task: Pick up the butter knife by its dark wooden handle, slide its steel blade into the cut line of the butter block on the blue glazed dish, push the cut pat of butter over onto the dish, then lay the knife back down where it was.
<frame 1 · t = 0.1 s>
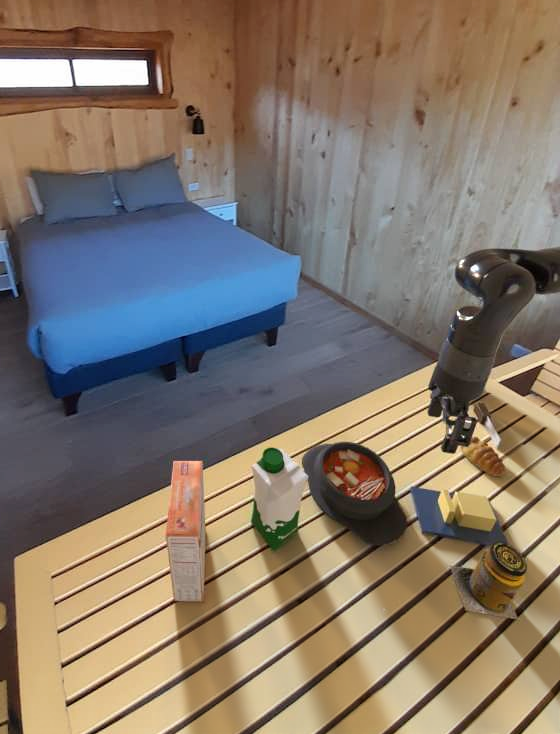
hand: (440, 432, 75), 25 cm above the table, tool pointing down, fingers open, 8 cm apart
condiment: (481, 592, 74), on the table
butter dish: (460, 518, 86), on the table
butter pat: (446, 506, 85), point 3 cm above the table, hinge at 0.0°, touching butter dish
pastry: (479, 458, 99), on the table
cracker box: (190, 562, 79), on the table
flask: (456, 383, 122), on the table
milk carton: (274, 528, 85), on the table
knife: (485, 427, 107), on the table
casserole: (349, 494, 91), on the table
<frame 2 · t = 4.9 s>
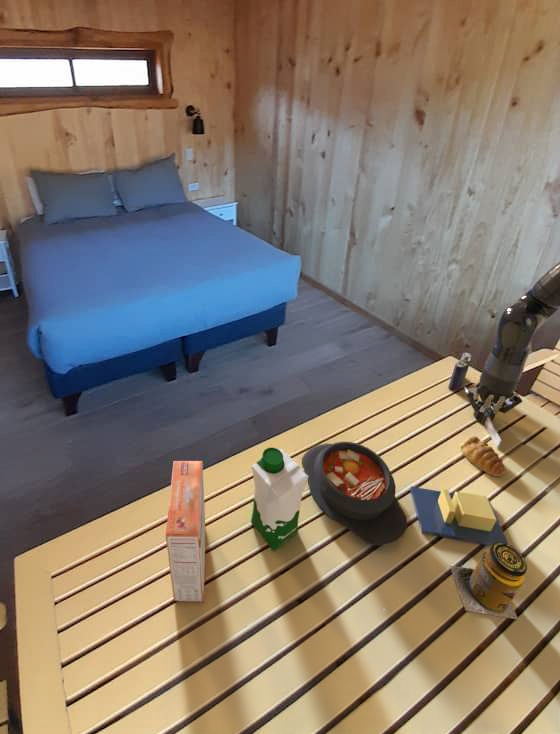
hand: (482, 419, 109), 0 cm above the table, tool pointing down, fingers closed on knife, 1 cm apart
knife: (486, 427, 107), on the table, touching gripper
everything else where it was.
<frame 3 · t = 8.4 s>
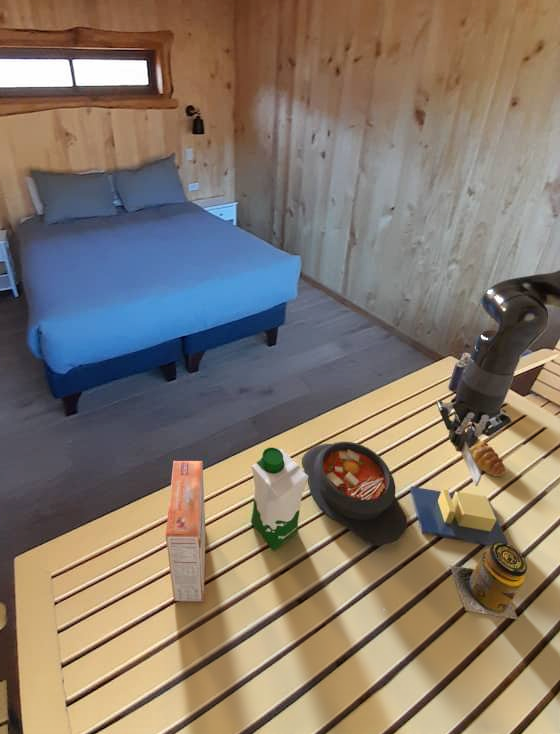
hand: (460, 443, 85), 15 cm above the table, tool pointing down, fingers closed on knife
knife: (463, 456, 83), point 14 cm above the table, touching gripper
everything else where it was.
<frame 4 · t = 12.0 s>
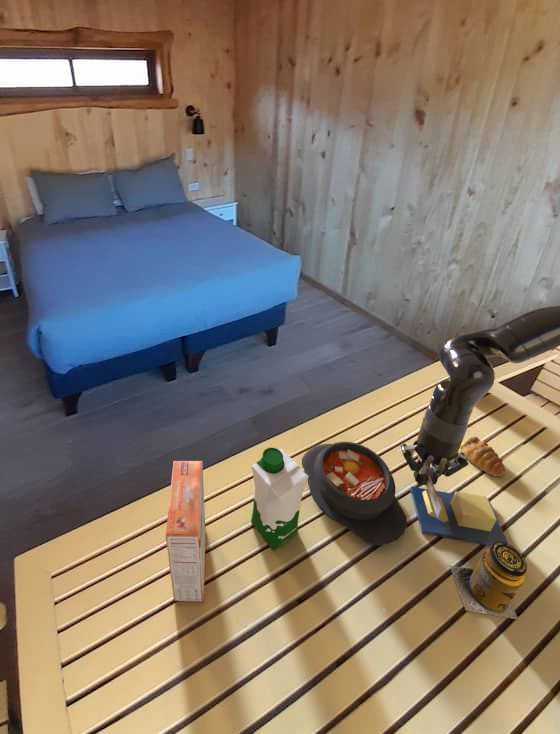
hand: (423, 481, 90), 3 cm above the table, tool pointing down, fingers closed on knife
butter pat: (435, 506, 86), point 2 cm above the table, hinge at 63.0°, touching butter dish
knife: (428, 489, 88), point 4 cm above the table, touching gripper
everything else where it was.
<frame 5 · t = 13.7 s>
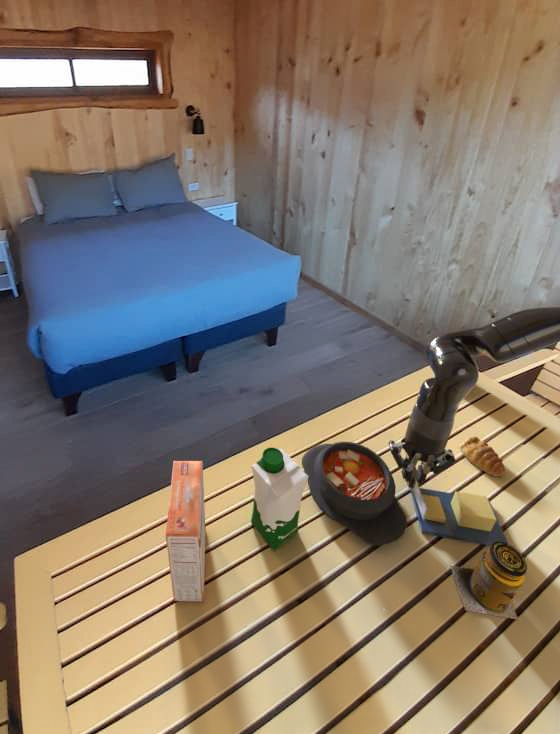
hand: (412, 479, 91), 3 cm above the table, tool pointing down, fingers closed on knife, 2 cm apart
butter pat: (431, 507, 86), point 2 cm above the table, hinge at 88.5°, touching butter dish
knife: (414, 492, 89), point 2 cm above the table, tilted 8°, touching gripper
everything else where it was.
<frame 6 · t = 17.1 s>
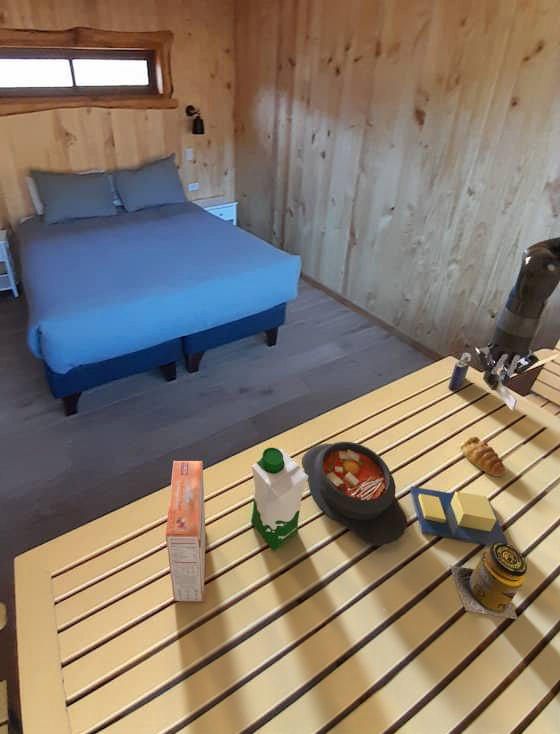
hand: (494, 383, 101), 15 cm above the table, tool pointing down, fingers closed on knife
knife: (498, 393, 99), point 14 cm above the table, tilted 8°, touching gripper
everything else where it was.
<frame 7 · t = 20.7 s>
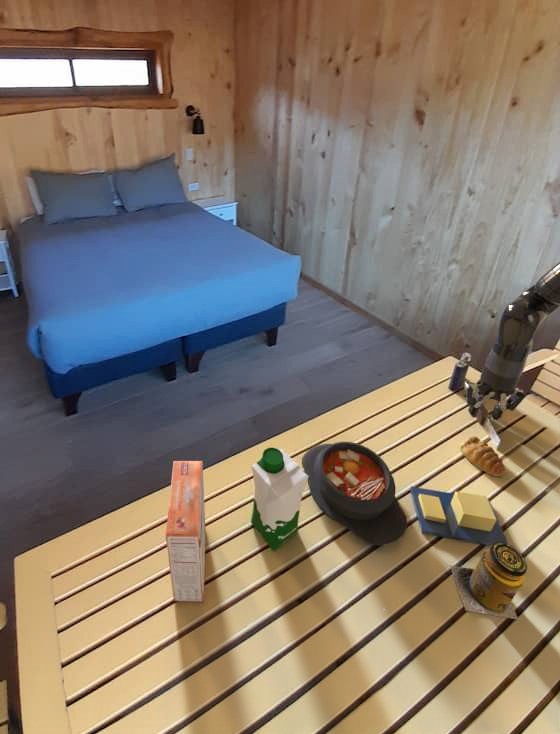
hand: (483, 416, 109), 1 cm above the table, tool pointing down, fingers open, 4 cm apart
knife: (485, 427, 107), on the table
everything else where it was.
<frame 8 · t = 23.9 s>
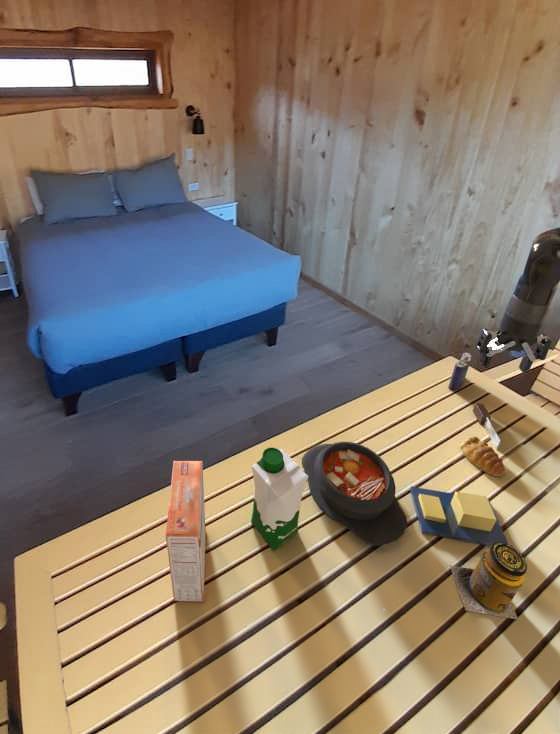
hand: (503, 368, 101), 18 cm above the table, tool pointing down, fingers open, 8 cm apart
nothing on the table moved.
at the end: butter pat at +88° (first picture: +0°); the gripper is holding nothing; knife on the table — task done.
